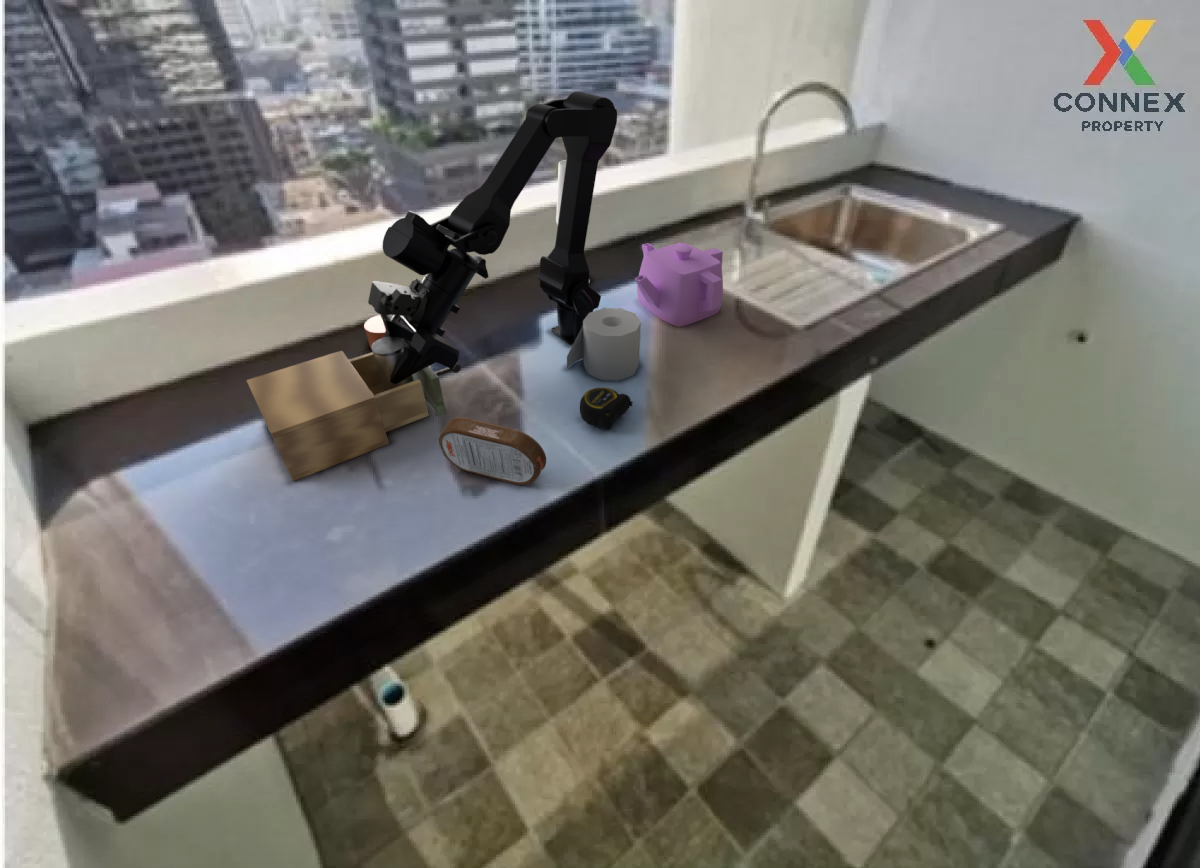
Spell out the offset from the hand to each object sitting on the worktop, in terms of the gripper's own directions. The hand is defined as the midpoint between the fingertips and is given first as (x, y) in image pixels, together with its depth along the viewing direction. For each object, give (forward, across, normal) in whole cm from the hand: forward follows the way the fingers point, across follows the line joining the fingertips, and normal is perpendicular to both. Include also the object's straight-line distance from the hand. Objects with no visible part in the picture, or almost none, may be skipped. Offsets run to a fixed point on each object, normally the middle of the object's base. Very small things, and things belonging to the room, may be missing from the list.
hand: (386, 375), depth 91 cm
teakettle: (-36, 0, +46) cm, 58 cm away
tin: (+1, +22, +9) cm, 24 cm away
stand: (0, -20, +9) cm, 22 cm away
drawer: (+3, 0, +5) cm, 6 cm away
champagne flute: (-29, -21, +39) cm, 53 cm away
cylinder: (+2, 0, +4) cm, 4 cm away
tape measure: (-13, +21, +23) cm, 34 cm away
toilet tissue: (-19, +9, +29) cm, 36 cm away
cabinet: (+12, 0, -3) cm, 13 cm away
